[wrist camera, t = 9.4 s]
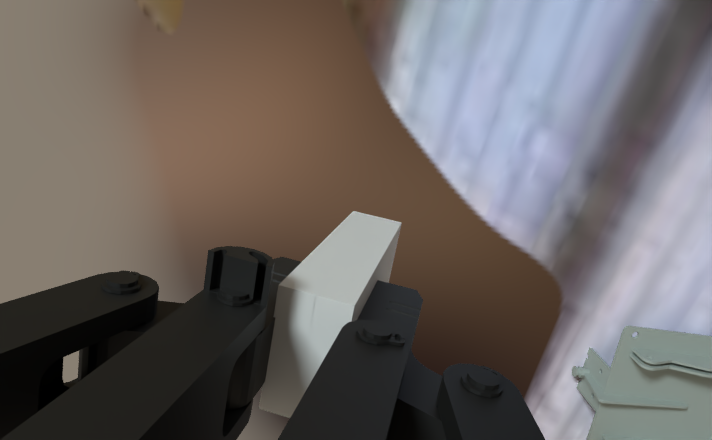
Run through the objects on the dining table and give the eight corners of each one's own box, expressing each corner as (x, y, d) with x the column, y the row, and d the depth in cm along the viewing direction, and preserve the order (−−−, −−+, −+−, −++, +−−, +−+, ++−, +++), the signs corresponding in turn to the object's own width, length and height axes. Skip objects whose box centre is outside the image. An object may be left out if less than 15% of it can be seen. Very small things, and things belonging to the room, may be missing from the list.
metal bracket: (575, 497, 40) (638, 310, 36) (543, 443, 45) (594, 276, 41) (752, 512, 41) (831, 336, 37) (700, 459, 47) (765, 300, 43)
